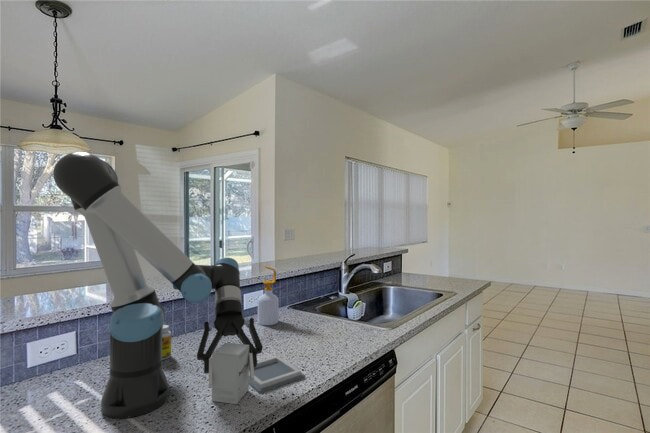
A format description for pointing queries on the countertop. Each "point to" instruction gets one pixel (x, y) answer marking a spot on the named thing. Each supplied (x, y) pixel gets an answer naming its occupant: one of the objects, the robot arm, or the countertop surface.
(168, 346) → the supplement bottle
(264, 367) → the slate base tray
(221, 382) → the supplement box
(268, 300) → the soap bottle
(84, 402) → the countertop surface
